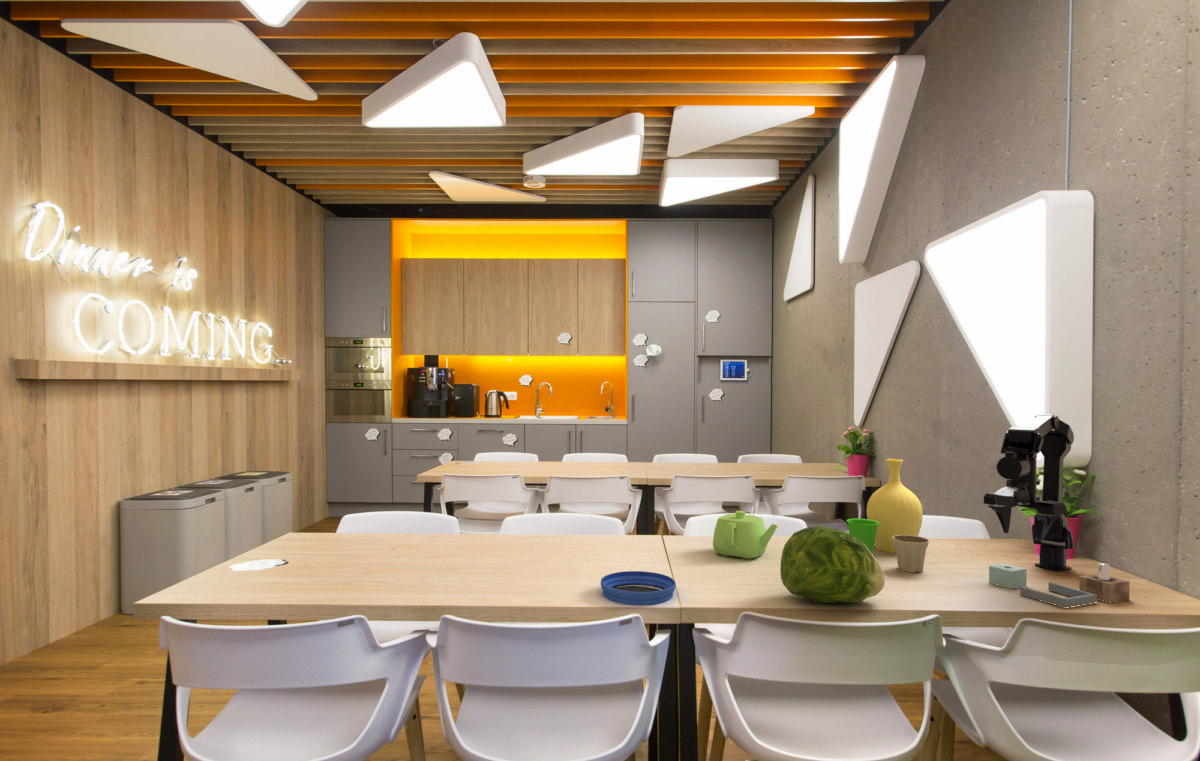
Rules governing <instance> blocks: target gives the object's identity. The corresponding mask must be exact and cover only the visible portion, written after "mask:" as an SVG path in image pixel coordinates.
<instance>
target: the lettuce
mask: <svg viewBox="0 0 1200 761" xmlns="http://www.w3.org/2000/svg"><path fill="white" fill-rule="evenodd" d="M781 553H782V554H781V558H780V568H779V569H780V579H781V582H782V585H783V586H784V587H785V588H786V590H787V591H788V592H789V593H790V594H792V595H796V596H801V597H802V598H804V599H808V600H810V601H813V602H818V603H825V604H826V603H827V604H829V603H831V604H833V603H834V604H855V603H859V602H863V601H864V600H867V599H868V598H872V597H875V596H877V595H878V594H879V593H880V592H881V591H882V590H883V588H884V587H885V583H886V582H885V578H886V577H885V574H884V570H883V568H882V567H881V564H880V563H879V561H878V560H877V558H876V557H875V556H874V554H873V555H872V553H871V552H870V551H869V549H868V548H867V546H866V545H865V544H864V543H862V542H861V541H860V540H859V539H857V538H856V537H854V536H853V535H851V534H849V532H847V531H844V530H842V529H838V528H833V527H828V526H827V527H826V526H821V525H815V526H809V527H805V528H802V529H799V530H798V531H795V532H794V533H792V535H790V537H788V539H787V541H786V542H785V544H784V546H783V549H782V551H781Z"/></svg>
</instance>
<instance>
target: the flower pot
mask: <svg viewBox="0 0 1200 761" xmlns="http://www.w3.org/2000/svg"><path fill="white" fill-rule="evenodd" d="M892 539H893V540H894V544H895V547H896V553H895V554H896V562H897V568H898V570H901V571H903V572H908V573H916V572H917V573H921V572H923V571H924V564H925V558H926V554H927V553H926V552H927V548H928V546H929V543H930V539H928V538H926V537H922V536H919V535H918V536H911V535H896V536H893V537H892Z"/></svg>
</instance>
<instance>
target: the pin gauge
mask: <svg viewBox="0 0 1200 761" xmlns="http://www.w3.org/2000/svg"><path fill="white" fill-rule="evenodd" d="M1097 574H1098V579H1099V580H1103V581H1110V577H1111V565H1110V564H1109V563H1104V562H1097Z"/></svg>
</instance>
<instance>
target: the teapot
mask: <svg viewBox="0 0 1200 761" xmlns="http://www.w3.org/2000/svg"><path fill="white" fill-rule="evenodd" d="M746 513H747V512H746V511H744V510H736V511H734V513H728V514H724V515H722V516H720V517H718V518H717V521H716V524H715V527H714V531H713V540H712V547H713V550H714V552H715V553H716V554H721V555H722V556H723V557H737V558H738V557H739V558H741V559H743V560H751V559H754V558H758V557H760V556H761V555H763V554H764V553H765V552H766V550H767V547H768V544H769V542H770V540H771V539H772V537H773V535H774V533H775V532H776V530H777V529H778V527H779V525H777V524H774V523H771V524H770V526H769V527H768V528H767V529H766V526H765V523H764V520H763V518H762V517H760V516H755V514H747V515H746Z"/></svg>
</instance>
